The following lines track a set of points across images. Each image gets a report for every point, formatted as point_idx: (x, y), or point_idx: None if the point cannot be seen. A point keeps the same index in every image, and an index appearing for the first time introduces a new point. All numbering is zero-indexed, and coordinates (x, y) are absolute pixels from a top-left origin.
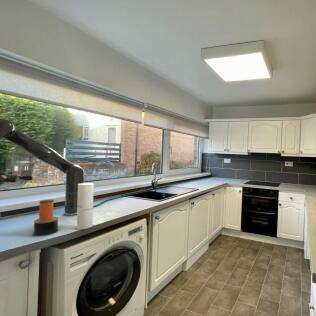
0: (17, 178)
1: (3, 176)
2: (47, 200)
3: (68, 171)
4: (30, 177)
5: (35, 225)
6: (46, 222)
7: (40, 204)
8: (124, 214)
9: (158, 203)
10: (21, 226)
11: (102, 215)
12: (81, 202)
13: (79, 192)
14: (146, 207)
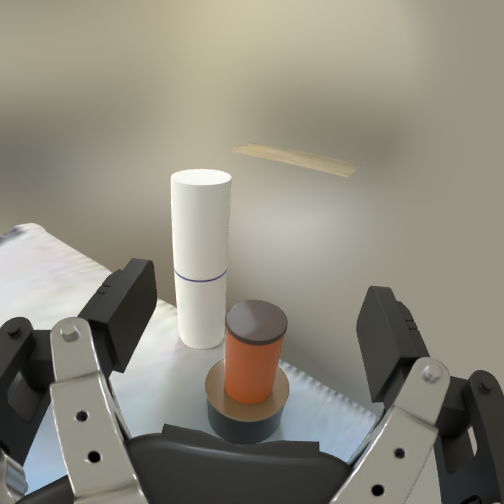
0: (123, 423)
1: (424, 424)
2: (252, 317)
3: None
4: (149, 279)
5: (282, 408)
6: (280, 369)
7: (281, 341)
8: (102, 275)
9: (37, 233)
10: None
11: None
12: (227, 252)
13: (225, 216)
14: (59, 247)
